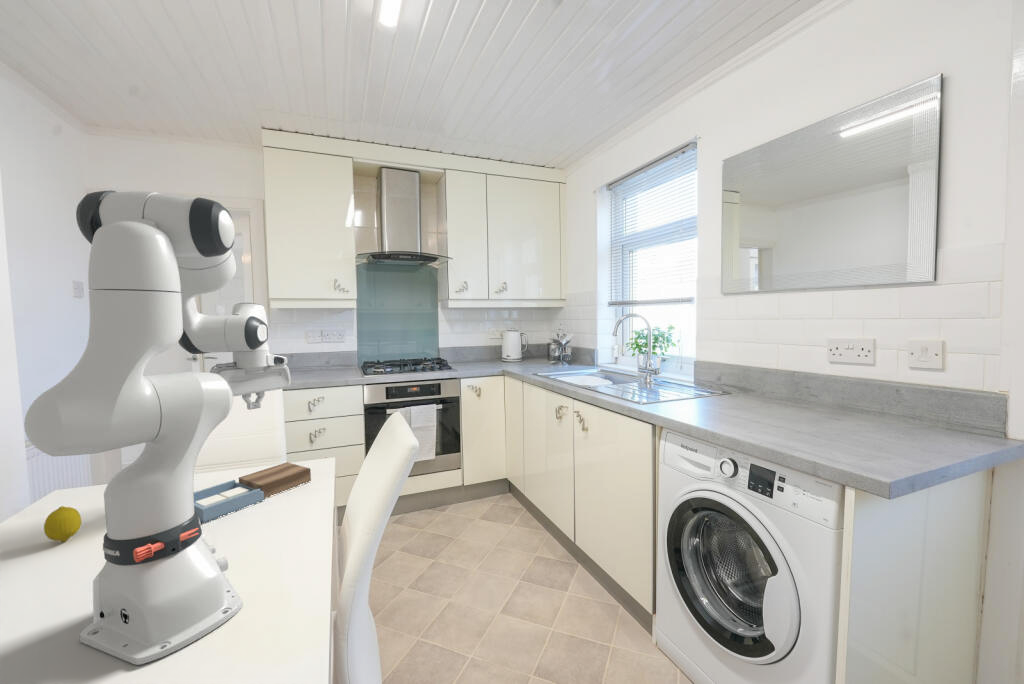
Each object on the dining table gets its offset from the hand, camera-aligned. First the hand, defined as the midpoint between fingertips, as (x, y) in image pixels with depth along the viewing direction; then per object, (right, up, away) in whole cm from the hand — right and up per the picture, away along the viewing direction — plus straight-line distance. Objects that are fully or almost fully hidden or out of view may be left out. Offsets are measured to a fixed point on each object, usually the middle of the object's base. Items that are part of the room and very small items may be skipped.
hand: (254, 408), depth 116 cm
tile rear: (-1, -23, -7) cm, 24 cm away
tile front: (-4, -22, -12) cm, 25 cm away
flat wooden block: (+5, -23, +2) cm, 24 cm away
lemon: (-26, -26, -26) cm, 45 cm away
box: (-2, -24, -10) cm, 26 cm away
